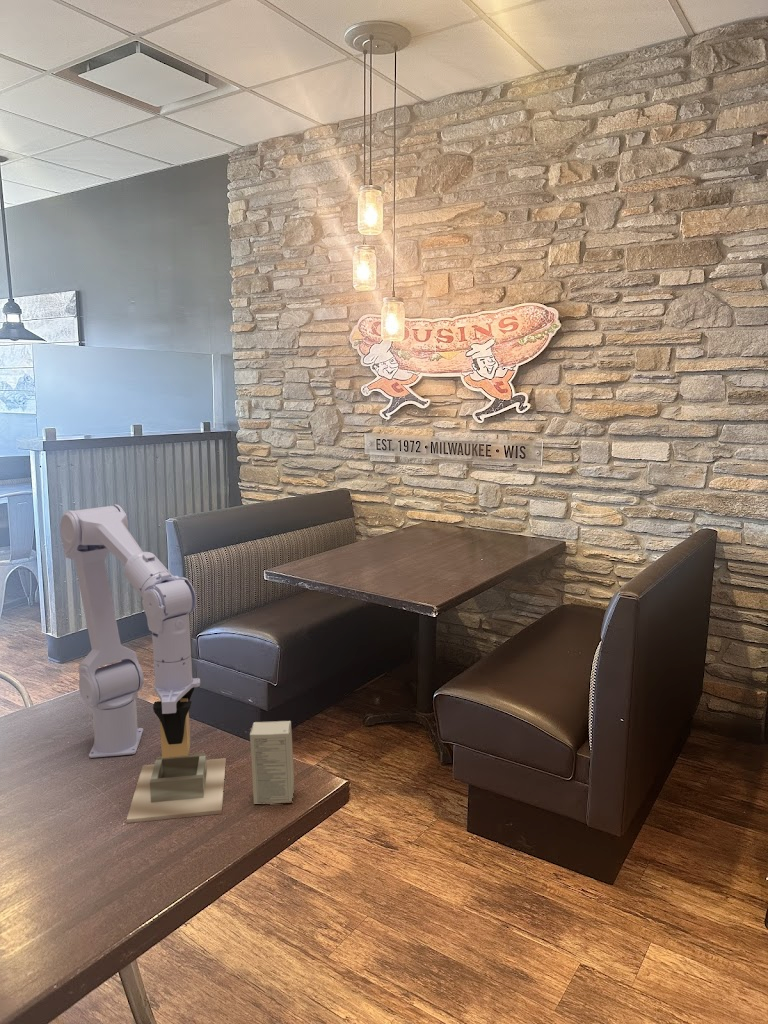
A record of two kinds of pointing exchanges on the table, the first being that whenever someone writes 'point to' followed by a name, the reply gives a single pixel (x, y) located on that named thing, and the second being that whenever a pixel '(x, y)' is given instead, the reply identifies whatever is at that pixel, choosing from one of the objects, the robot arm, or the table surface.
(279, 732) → the skincare box
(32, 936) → the table surface
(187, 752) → the peg
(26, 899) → the table surface
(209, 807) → the socket stand
